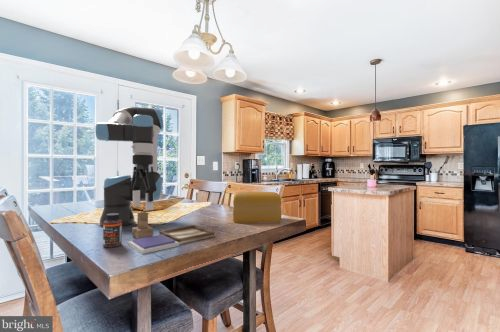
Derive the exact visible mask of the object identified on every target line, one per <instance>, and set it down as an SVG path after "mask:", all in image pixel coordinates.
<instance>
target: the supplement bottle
mask: <svg viewBox="0 0 500 332" xmlns="http://www.w3.org/2000/svg"><path fill="white" fill-rule="evenodd" d="M106 218H107V219H106V220H105V221H104V223H103V226H102V228H103V229H102V246H103V247H104V248H110V249H111V248H116V247H119V246H120V245H122V244H123V243H122V240H123V239H122V237H123V236H122V234H123V233H122V232H123V231H122V230H123V226H122V220H121V219H119V213H110V214H107V217H106Z"/></svg>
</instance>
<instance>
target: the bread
mask: <svg viewBox="0 0 500 332" xmlns="http://www.w3.org/2000/svg"><path fill="white" fill-rule="evenodd" d="M232 203H233V211H232V221H233V222H232V223H233V224H238V223H239V224H257V223H256V222H280V221H281V222H282V199H281V195H280V193H277V192H274V191H239V192H235V193H234V196H233V201H232ZM254 222H255V223H254Z"/></svg>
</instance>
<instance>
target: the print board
mask: <svg viewBox="0 0 500 332" xmlns="http://www.w3.org/2000/svg"><path fill="white" fill-rule="evenodd" d="M158 232H159V233H158V235H164V236H166V237H168V238H170V239H173V240H175V241H177V242H179V245H183V244H187V243H191V242H195V241H200V240H205V239H209V237H210V238H213V237H215V231H213V230H210V229H207V228H204V227H201V226H198V225H195V224H192V225H186V226H181V227H175V228H169V229H163V230H159V231H158Z"/></svg>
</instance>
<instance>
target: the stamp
mask: <svg viewBox="0 0 500 332" xmlns="http://www.w3.org/2000/svg"><path fill="white" fill-rule="evenodd" d="M136 218H137V219H136V220H137V223H136V224H137V226H134V227H131V236H132V238H134V240H135V239H140V238H146V237H151V236H154V228H153V227H151V226H149V212H147V211H142V212H137V217H136Z"/></svg>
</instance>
